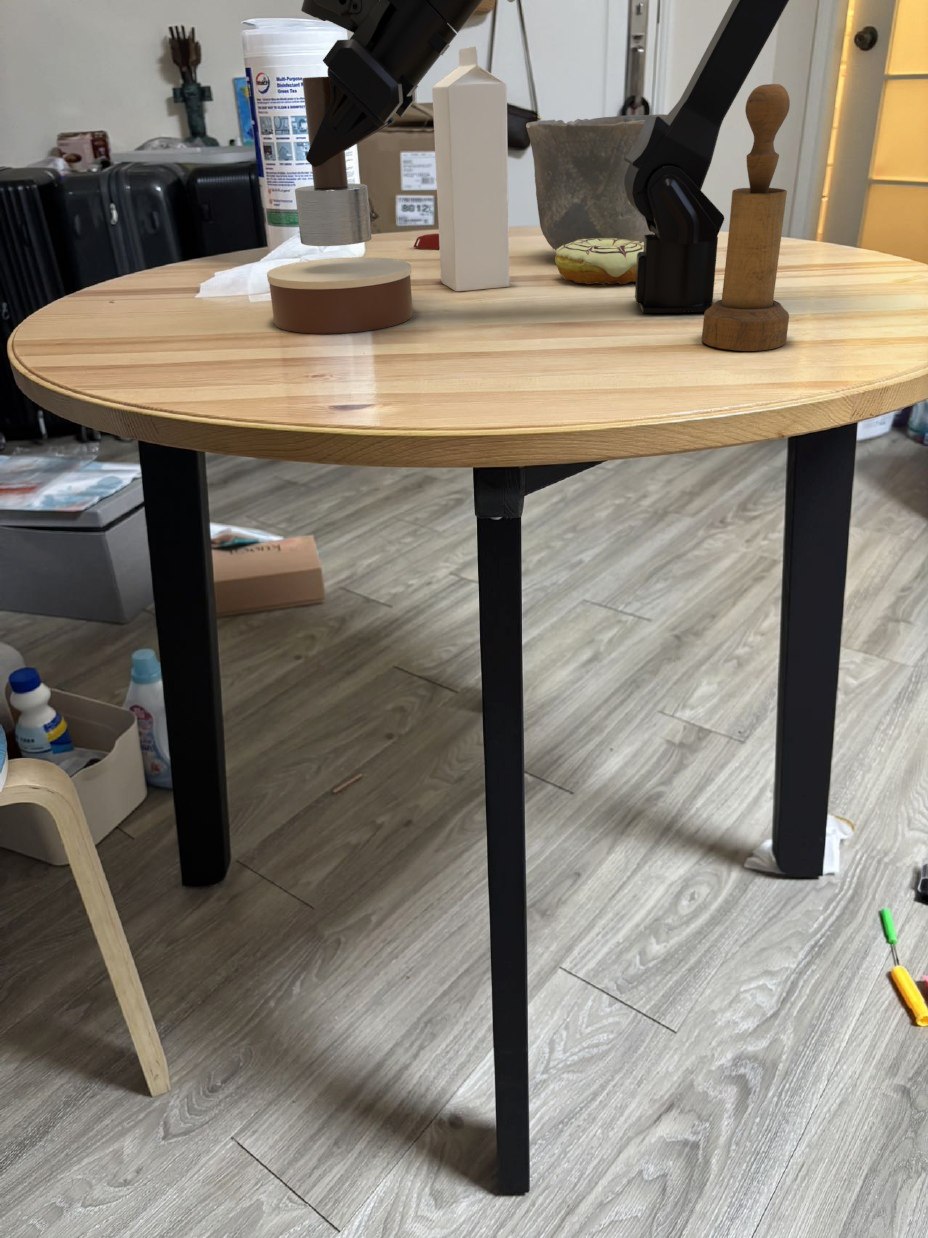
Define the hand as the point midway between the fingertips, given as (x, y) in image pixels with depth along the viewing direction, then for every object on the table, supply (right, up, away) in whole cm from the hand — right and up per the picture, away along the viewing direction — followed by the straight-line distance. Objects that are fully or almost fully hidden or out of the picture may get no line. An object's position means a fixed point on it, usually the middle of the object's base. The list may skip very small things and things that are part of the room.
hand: (313, 161), depth 85 cm
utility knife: (+12, +9, +43) cm, 46 cm away
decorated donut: (+29, -4, +20) cm, 35 cm away
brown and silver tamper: (+2, -6, +3) cm, 7 cm away
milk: (+14, -4, +19) cm, 25 cm away
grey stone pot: (+30, +4, +33) cm, 45 cm away
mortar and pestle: (+36, -18, -7) cm, 41 cm away
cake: (+2, -12, +6) cm, 13 cm away
